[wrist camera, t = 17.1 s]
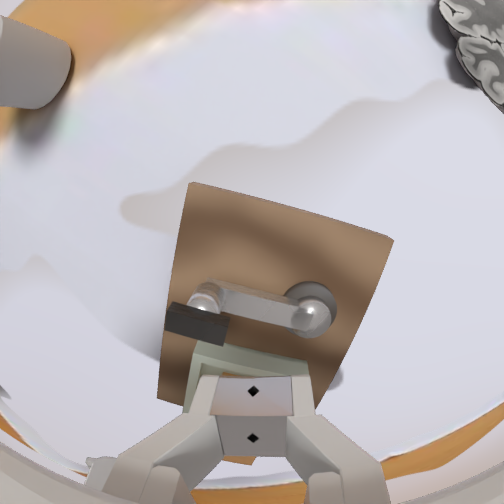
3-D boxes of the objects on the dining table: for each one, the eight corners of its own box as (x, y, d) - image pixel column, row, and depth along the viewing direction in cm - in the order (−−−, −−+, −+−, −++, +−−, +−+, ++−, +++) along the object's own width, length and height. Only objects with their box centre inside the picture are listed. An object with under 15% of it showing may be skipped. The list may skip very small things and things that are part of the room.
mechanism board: (301, 420, 29) (303, 437, 26) (160, 389, 28) (154, 404, 26) (387, 235, 22) (399, 244, 20) (193, 181, 22) (184, 184, 20)
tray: (275, 425, 27) (275, 443, 25) (186, 405, 27) (180, 422, 25) (306, 360, 24) (309, 379, 22) (199, 336, 24) (193, 352, 22)
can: (77, 93, 20) (-22, 72, 8) (24, 121, 21) (-66, 121, 9) (77, 29, 18) (-4, -10, 6) (25, 60, 18) (-54, 44, 7)
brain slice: (394, -35, 14) (403, -49, 12) (499, -9, 12) (512, -16, 9) (463, 144, 20) (482, 144, 17) (550, 137, 18) (566, 138, 15)
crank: (333, 300, 21) (351, 342, 16) (320, 333, 22) (332, 379, 17) (192, 264, 21) (168, 298, 16) (185, 300, 22) (163, 340, 17)
